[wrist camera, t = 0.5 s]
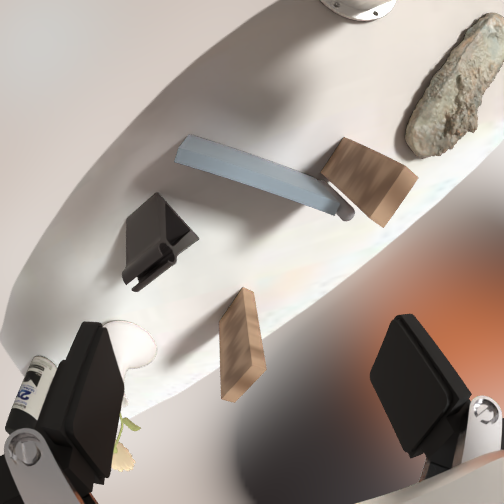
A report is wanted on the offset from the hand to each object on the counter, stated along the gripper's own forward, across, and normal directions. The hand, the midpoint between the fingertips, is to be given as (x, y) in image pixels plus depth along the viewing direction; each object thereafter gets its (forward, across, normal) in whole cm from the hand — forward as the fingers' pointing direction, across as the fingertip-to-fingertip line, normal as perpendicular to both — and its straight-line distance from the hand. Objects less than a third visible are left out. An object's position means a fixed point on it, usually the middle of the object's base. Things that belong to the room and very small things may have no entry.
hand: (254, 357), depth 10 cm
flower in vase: (+35, +16, +32) cm, 51 cm away
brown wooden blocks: (+34, -9, +11) cm, 37 cm away
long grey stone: (+33, -36, -19) cm, 52 cm away
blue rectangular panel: (+33, -5, 0) cm, 33 cm away
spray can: (+36, +40, +43) cm, 69 cm away
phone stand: (+34, +8, +10) cm, 37 cm away
